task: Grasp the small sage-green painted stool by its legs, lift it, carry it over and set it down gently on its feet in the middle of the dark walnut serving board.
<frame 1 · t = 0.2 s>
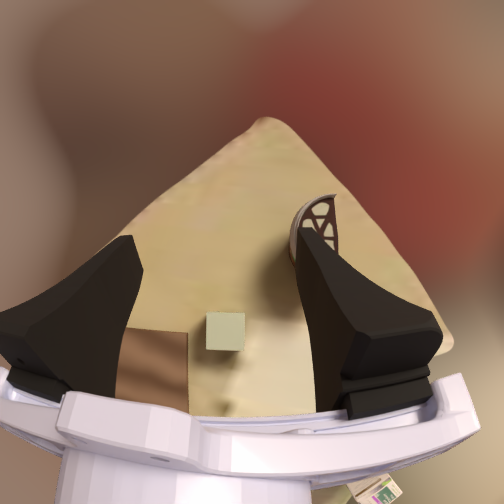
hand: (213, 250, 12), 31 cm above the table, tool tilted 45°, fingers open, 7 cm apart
serving board: (139, 377, 40), on the table
food container: (300, 251, 44), on the table
stool: (227, 328, 42), on the table
syrup box: (348, 455, 38), on the table
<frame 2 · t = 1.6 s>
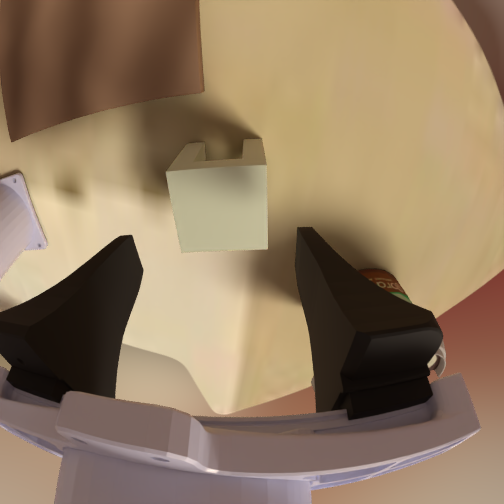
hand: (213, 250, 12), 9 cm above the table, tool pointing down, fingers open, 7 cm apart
serving board: (85, 13, 11), on the table
food container: (363, 282, 26), on the table
stool: (226, 174, 19), on the table
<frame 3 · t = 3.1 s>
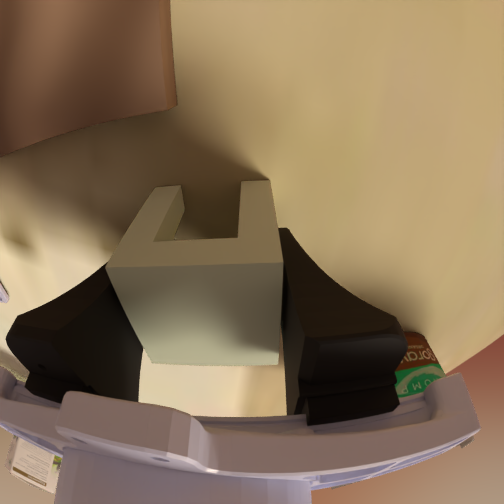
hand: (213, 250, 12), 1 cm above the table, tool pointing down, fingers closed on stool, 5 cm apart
serving board: (17, 4, 5), on the table
food container: (388, 345, 20), on the table
stool: (216, 232, 13), on the table, touching gripper
syrup box: (55, 384, 26), on the table
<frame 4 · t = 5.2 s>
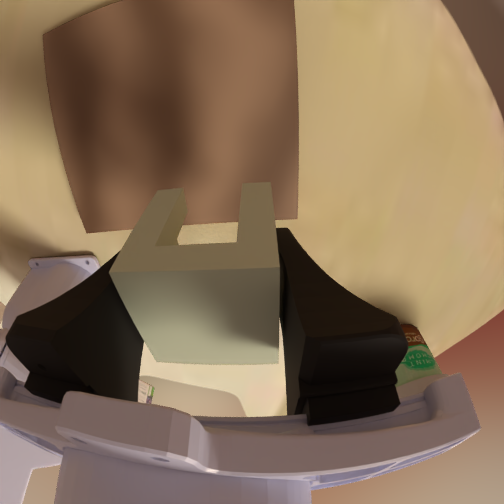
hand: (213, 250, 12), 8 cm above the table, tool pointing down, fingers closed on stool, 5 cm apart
serving board: (167, 107, 16), on the table
food container: (393, 333, 30), on the table
stool: (219, 233, 13), point 7 cm above the table, touching gripper
syrup box: (130, 380, 37), on the table
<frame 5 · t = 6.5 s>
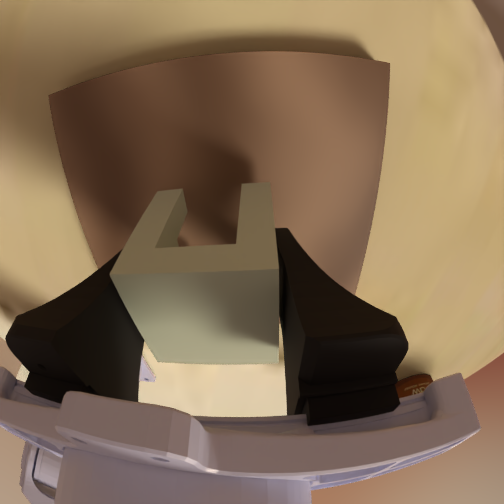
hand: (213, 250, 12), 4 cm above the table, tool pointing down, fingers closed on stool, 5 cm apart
serving board: (221, 207, 15), on the table
food container: (408, 381, 30), on the table
architectural model: (10, 342, 27), on the table
stool: (219, 233, 14), point 2 cm above the table, touching gripper
when the fingers open (4 cm above the table, at t = 7.4 s): stool stays where it is, resting on serving board.
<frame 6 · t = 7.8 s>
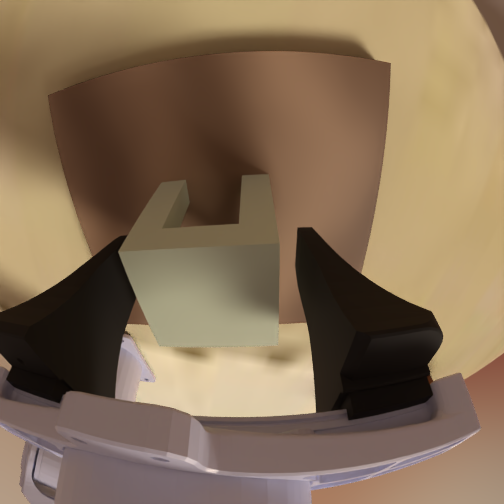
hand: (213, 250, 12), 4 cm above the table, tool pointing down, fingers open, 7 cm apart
serving board: (221, 207, 15), on the table
architectural model: (10, 343, 27), on the table
stool: (219, 224, 14), point 1 cm above the table, touching serving board
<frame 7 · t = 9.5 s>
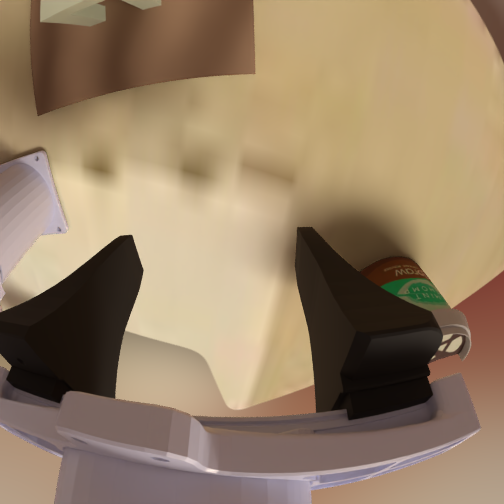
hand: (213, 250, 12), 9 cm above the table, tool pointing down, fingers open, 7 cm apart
food container: (390, 270, 26), on the table
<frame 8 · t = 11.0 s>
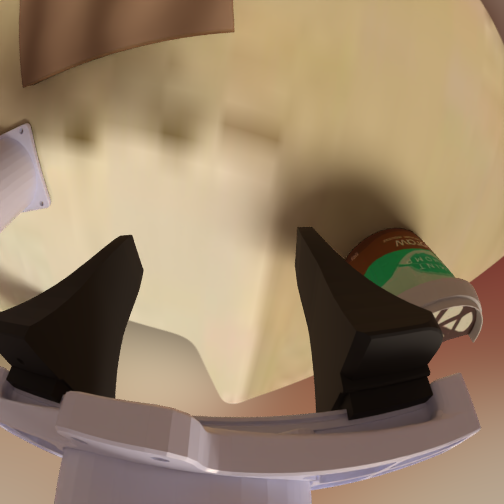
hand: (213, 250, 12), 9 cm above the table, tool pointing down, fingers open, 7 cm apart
food container: (390, 244, 24), on the table
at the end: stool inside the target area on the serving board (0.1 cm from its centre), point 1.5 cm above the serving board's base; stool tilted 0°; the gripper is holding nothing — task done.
